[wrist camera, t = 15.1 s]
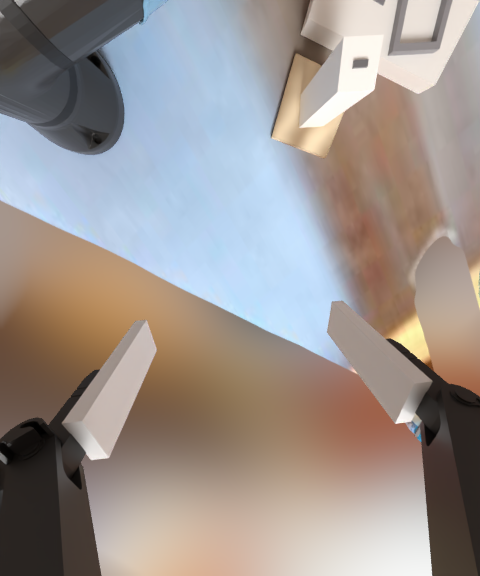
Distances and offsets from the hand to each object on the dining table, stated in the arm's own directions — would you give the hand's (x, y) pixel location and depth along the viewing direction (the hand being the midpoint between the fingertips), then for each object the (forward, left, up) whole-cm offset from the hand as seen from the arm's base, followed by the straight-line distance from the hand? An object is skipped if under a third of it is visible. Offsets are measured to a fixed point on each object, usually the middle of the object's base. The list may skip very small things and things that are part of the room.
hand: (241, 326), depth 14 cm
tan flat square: (+8, +25, -32) cm, 41 cm away
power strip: (+14, +38, -32) cm, 51 cm away
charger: (+8, +25, -31) cm, 40 cm away
